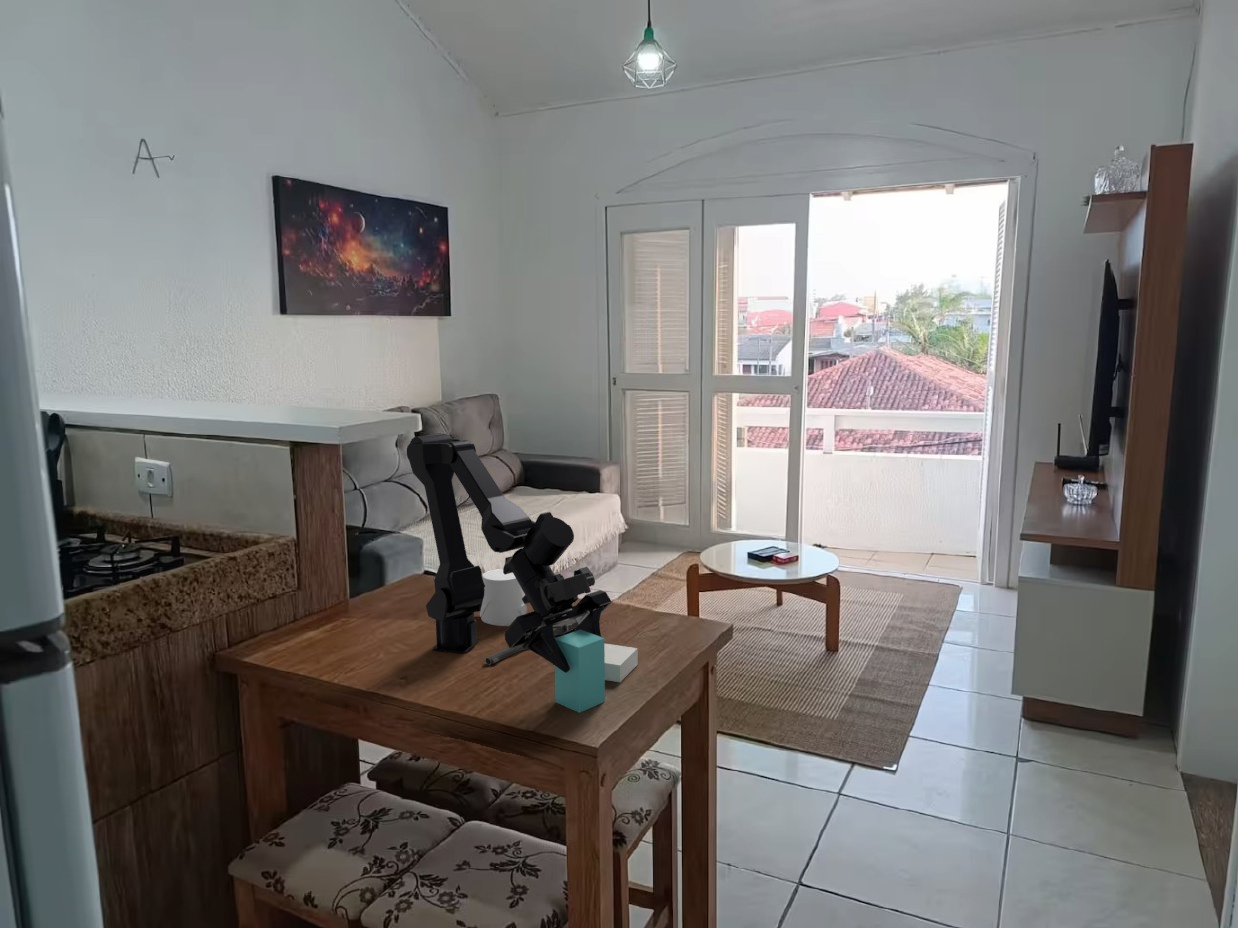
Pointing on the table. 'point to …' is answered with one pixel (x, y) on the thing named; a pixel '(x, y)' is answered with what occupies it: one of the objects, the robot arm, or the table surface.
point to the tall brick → (581, 671)
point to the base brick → (619, 661)
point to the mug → (501, 598)
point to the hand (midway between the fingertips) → (585, 664)
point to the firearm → (504, 653)
